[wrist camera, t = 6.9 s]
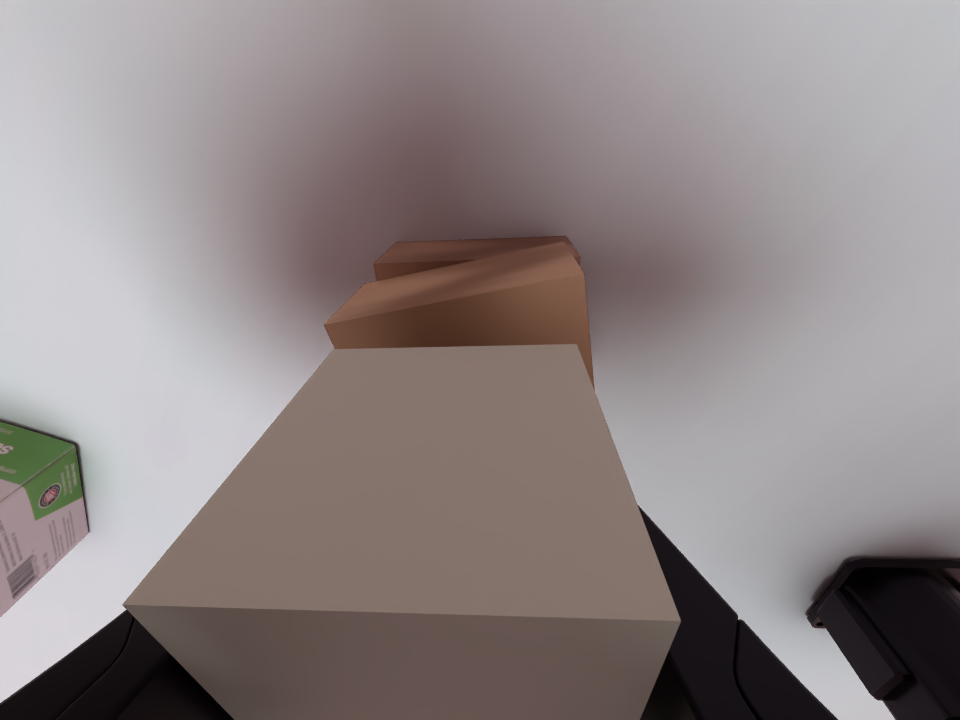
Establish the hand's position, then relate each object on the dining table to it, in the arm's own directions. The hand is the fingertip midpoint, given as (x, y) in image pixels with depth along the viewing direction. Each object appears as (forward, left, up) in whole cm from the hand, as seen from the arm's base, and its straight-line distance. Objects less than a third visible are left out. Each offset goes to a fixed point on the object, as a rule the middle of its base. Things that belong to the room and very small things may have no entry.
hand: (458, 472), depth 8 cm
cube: (0, 0, -1) cm, 1 cm away
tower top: (0, 0, -5) cm, 5 cm away
